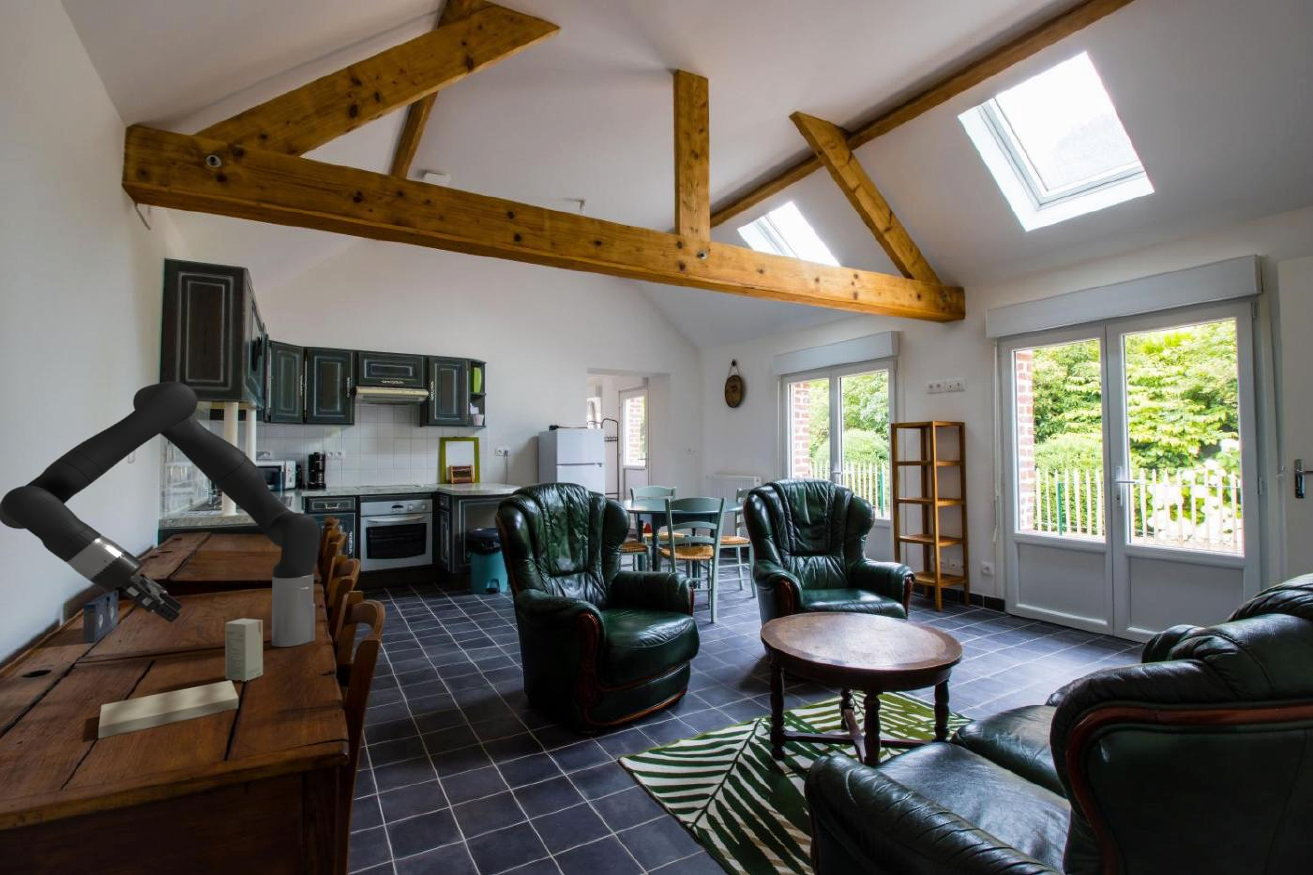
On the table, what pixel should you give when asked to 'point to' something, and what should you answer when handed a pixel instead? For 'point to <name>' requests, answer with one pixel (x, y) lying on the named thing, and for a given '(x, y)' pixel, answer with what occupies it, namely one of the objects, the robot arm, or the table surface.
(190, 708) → the birch board
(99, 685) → the table surface
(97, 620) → the vhs cassette tape
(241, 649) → the skincare box
